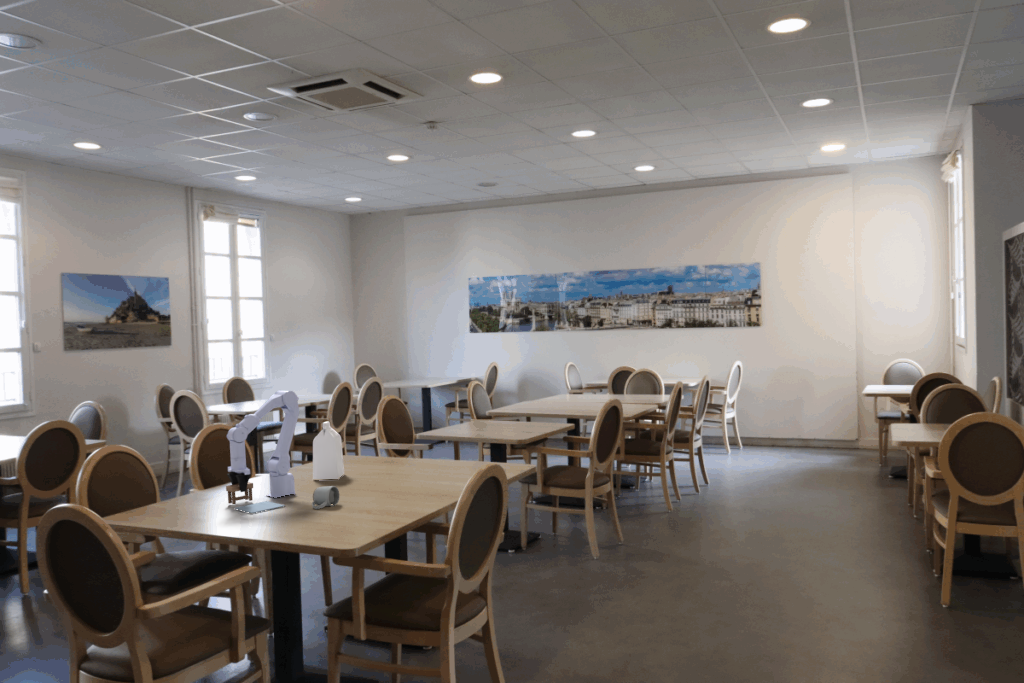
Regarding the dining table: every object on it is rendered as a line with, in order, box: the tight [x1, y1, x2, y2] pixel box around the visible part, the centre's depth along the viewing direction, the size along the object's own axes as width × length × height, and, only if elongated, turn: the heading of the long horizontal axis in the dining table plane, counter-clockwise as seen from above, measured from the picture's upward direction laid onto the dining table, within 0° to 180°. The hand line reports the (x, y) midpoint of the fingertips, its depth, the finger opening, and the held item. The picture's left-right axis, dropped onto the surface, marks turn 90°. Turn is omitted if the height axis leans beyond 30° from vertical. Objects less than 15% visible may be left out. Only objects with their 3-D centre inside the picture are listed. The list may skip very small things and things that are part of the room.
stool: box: [225, 481, 254, 505], centre depth 309 cm, size 9×5×7 cm, turn 137°
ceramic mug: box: [311, 485, 341, 510], centre depth 297 cm, size 11×8×8 cm
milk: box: [312, 421, 345, 480], centre depth 357 cm, size 12×12×26 cm
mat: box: [234, 500, 286, 514], centre depth 298 cm, size 14×14×1 cm
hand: (239, 490), depth 309 cm, fingers closed on stool, 5 cm apart
